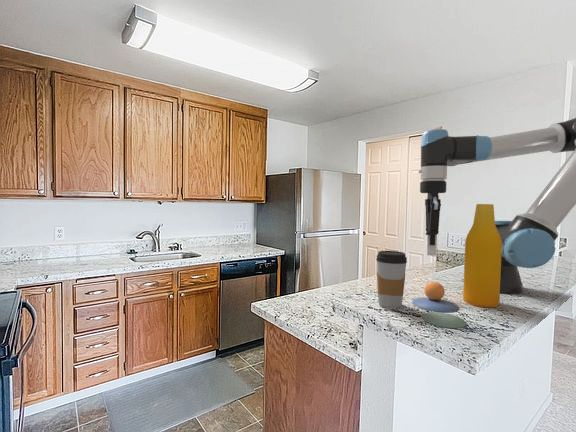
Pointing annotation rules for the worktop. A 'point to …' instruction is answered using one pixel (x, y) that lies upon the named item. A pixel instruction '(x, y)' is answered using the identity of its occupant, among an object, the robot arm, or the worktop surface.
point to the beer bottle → (482, 260)
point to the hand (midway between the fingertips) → (431, 255)
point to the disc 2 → (443, 320)
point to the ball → (434, 291)
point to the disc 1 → (435, 305)
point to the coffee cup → (390, 278)
